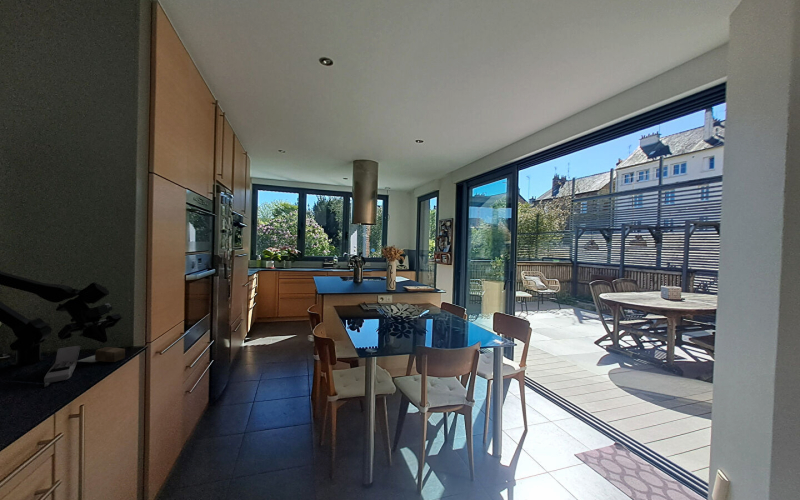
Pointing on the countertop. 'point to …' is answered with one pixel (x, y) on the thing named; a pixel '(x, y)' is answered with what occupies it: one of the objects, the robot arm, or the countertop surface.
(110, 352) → the walnut block
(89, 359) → the grey mat
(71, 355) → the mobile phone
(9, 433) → the countertop surface
